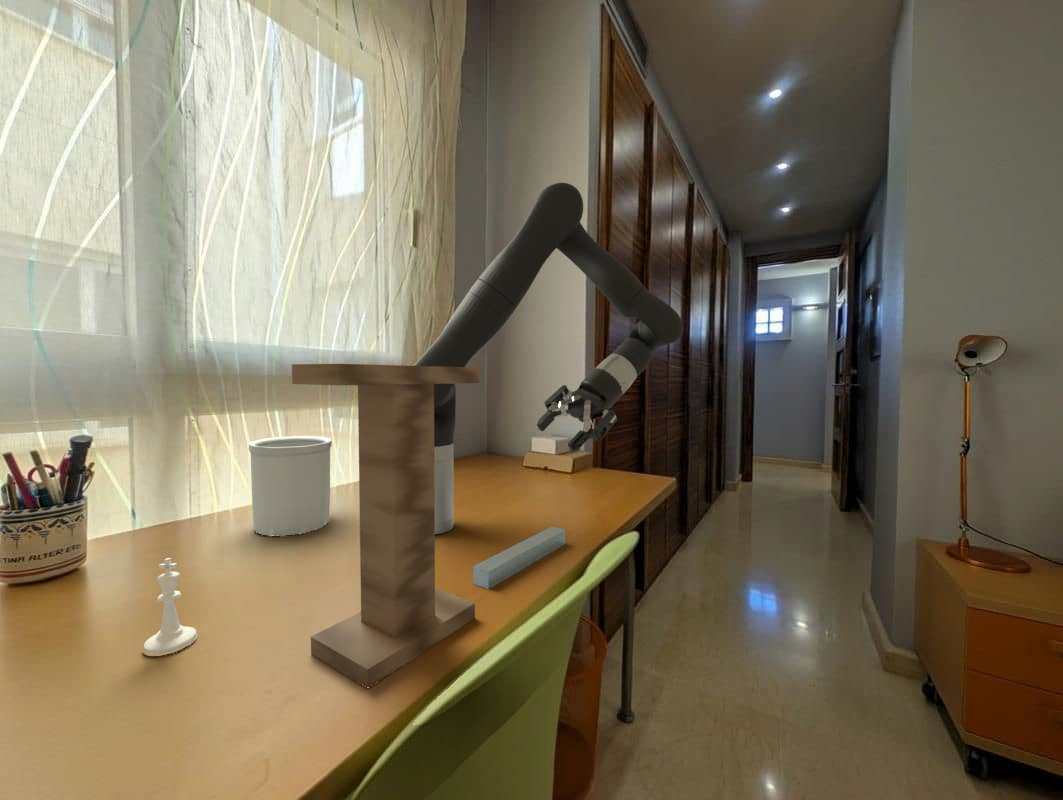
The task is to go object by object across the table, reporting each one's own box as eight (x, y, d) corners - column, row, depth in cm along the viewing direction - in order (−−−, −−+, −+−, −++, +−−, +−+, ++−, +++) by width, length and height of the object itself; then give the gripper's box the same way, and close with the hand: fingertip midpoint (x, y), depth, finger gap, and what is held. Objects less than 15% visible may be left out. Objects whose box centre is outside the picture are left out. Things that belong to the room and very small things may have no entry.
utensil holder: (347, 522, 96) (346, 439, 95) (276, 544, 83) (274, 448, 82) (307, 510, 104) (305, 434, 103) (236, 529, 91) (233, 442, 90)
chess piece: (163, 632, 55) (160, 550, 54) (206, 631, 55) (204, 549, 54) (130, 658, 50) (127, 568, 49) (179, 656, 50) (175, 567, 50)
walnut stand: (431, 591, 66) (429, 367, 64) (484, 611, 60) (485, 367, 58) (293, 663, 49) (286, 364, 47) (349, 701, 43) (344, 363, 42)
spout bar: (551, 542, 86) (551, 526, 86) (565, 545, 84) (565, 529, 84) (472, 585, 68) (473, 566, 68) (488, 591, 66) (488, 571, 66)
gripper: (578, 356, 93) (523, 410, 88) (634, 382, 84) (576, 443, 79) (586, 381, 98) (535, 433, 93) (640, 407, 89) (586, 466, 84)
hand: (554, 438), depth 86 cm, fingers open, 8 cm apart
